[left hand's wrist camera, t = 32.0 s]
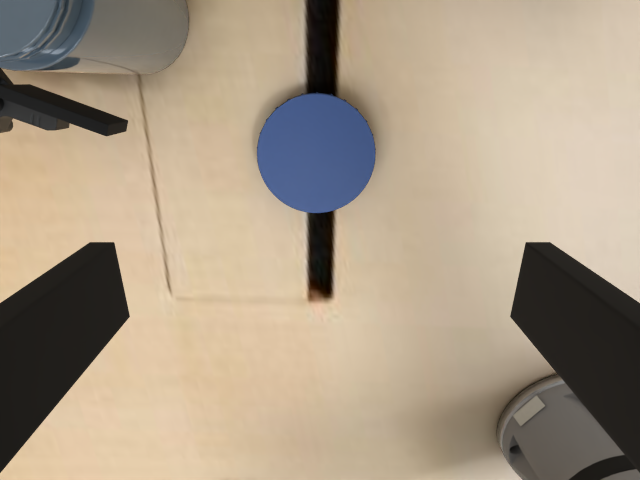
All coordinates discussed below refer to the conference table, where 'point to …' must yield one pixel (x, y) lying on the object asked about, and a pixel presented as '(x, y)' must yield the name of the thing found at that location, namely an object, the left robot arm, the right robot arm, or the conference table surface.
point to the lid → (316, 153)
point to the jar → (92, 35)
